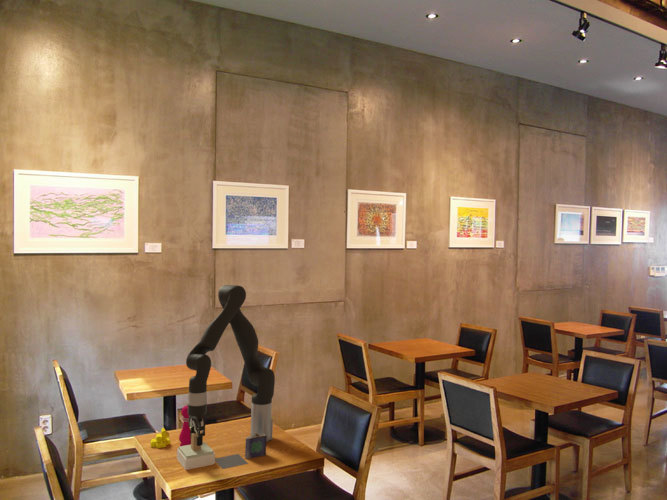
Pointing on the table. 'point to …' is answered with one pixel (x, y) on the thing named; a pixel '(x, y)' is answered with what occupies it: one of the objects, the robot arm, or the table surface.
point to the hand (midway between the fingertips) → (196, 441)
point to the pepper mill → (185, 428)
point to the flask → (255, 445)
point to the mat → (230, 461)
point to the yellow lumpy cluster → (161, 439)
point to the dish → (195, 460)
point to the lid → (195, 448)
